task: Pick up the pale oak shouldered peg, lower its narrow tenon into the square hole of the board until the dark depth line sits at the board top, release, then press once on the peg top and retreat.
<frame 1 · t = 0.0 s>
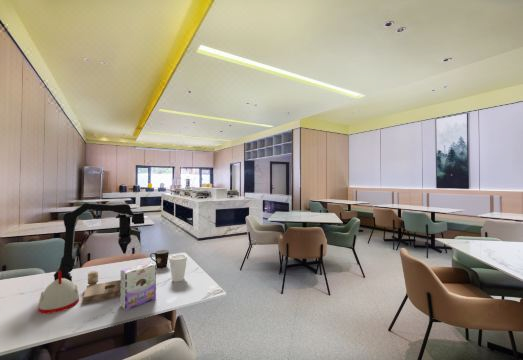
hand: (124, 251, 140), 15 cm above the table, fingers open, 9 cm apart
peg: (92, 287, 125), on the table
foam cup: (178, 279, 136), on the table
candy box: (138, 303, 110), on the table
board: (105, 293, 119), on the table
coffee mug: (160, 266, 157), on the table
kitchen timer: (59, 305, 107), on the table
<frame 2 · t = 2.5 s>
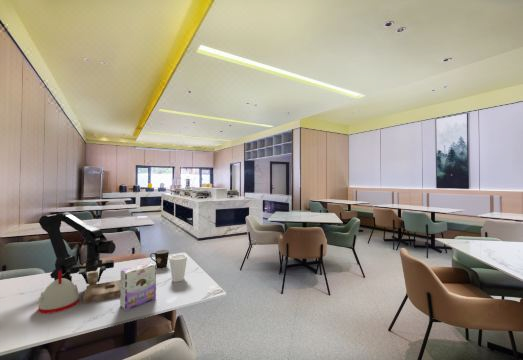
hand: (92, 282, 125), 3 cm above the table, fingers closed on peg, 4 cm apart
peg: (92, 287, 125), on the table, touching gripper
everything else where it was.
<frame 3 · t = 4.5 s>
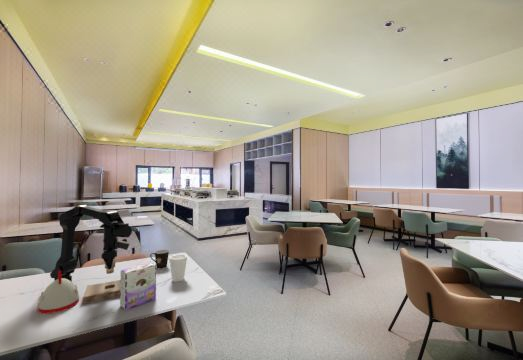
hand: (110, 267, 120), 13 cm above the table, fingers closed on peg, 4 cm apart
peg: (110, 272, 120), point 10 cm above the table, touching gripper
everything else where it was.
when the fingers open (4 cm above the table, at t = 6.7 s): peg drops 2 cm, resting on board.
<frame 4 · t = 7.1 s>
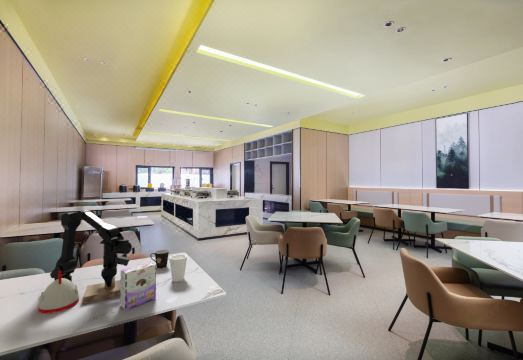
hand: (109, 283, 120), 4 cm above the table, fingers open, 9 cm apart
peg: (109, 292, 120), resting on board
everything else where it was.
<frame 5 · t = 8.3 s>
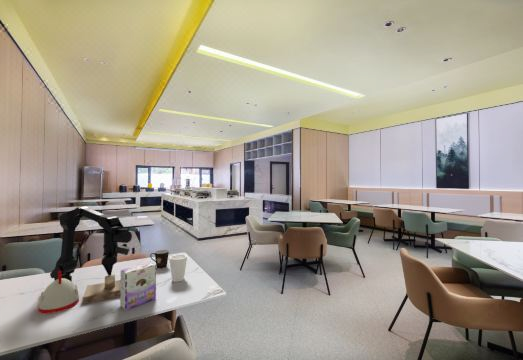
hand: (110, 272, 120), 10 cm above the table, fingers open, 7 cm apart
nothing on the table moved.
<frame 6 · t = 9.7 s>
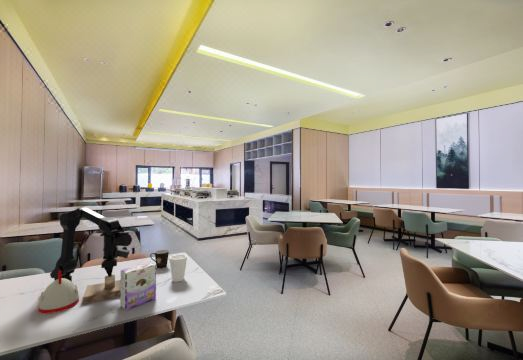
hand: (109, 276, 120), 8 cm above the table, fingers closed
nothing on the table moved.
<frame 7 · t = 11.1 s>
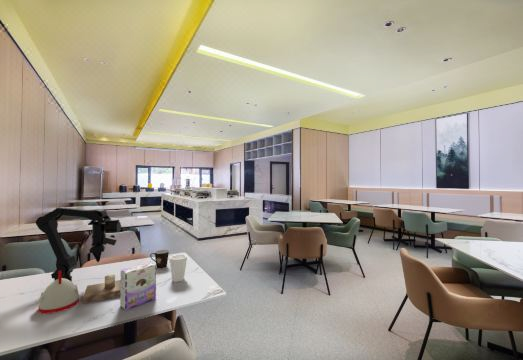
hand: (98, 261, 129), 12 cm above the table, fingers closed
nothing on the table moved.
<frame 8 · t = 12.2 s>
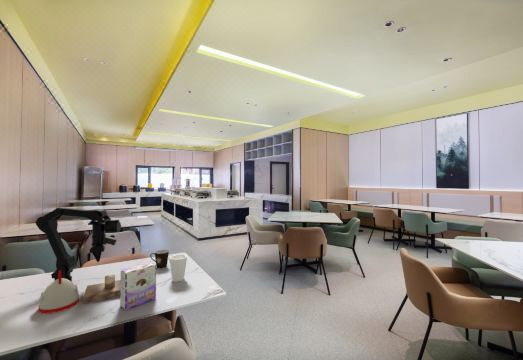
hand: (98, 261, 129), 13 cm above the table, fingers closed
nothing on the table moved.
at the end: peg 0.0 cm from the target spot on the board, point 0.2 cm above the board's base; peg tilted 0°; the gripper is holding nothing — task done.
